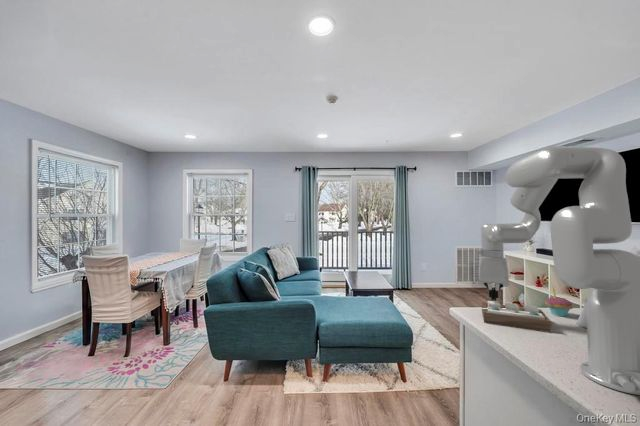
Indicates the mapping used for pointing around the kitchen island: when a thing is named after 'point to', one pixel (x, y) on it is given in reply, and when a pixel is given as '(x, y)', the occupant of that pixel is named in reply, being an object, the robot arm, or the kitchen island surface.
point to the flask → (583, 316)
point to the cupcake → (558, 305)
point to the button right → (531, 308)
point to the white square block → (493, 304)
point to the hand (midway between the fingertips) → (493, 299)
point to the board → (516, 318)
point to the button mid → (511, 306)
